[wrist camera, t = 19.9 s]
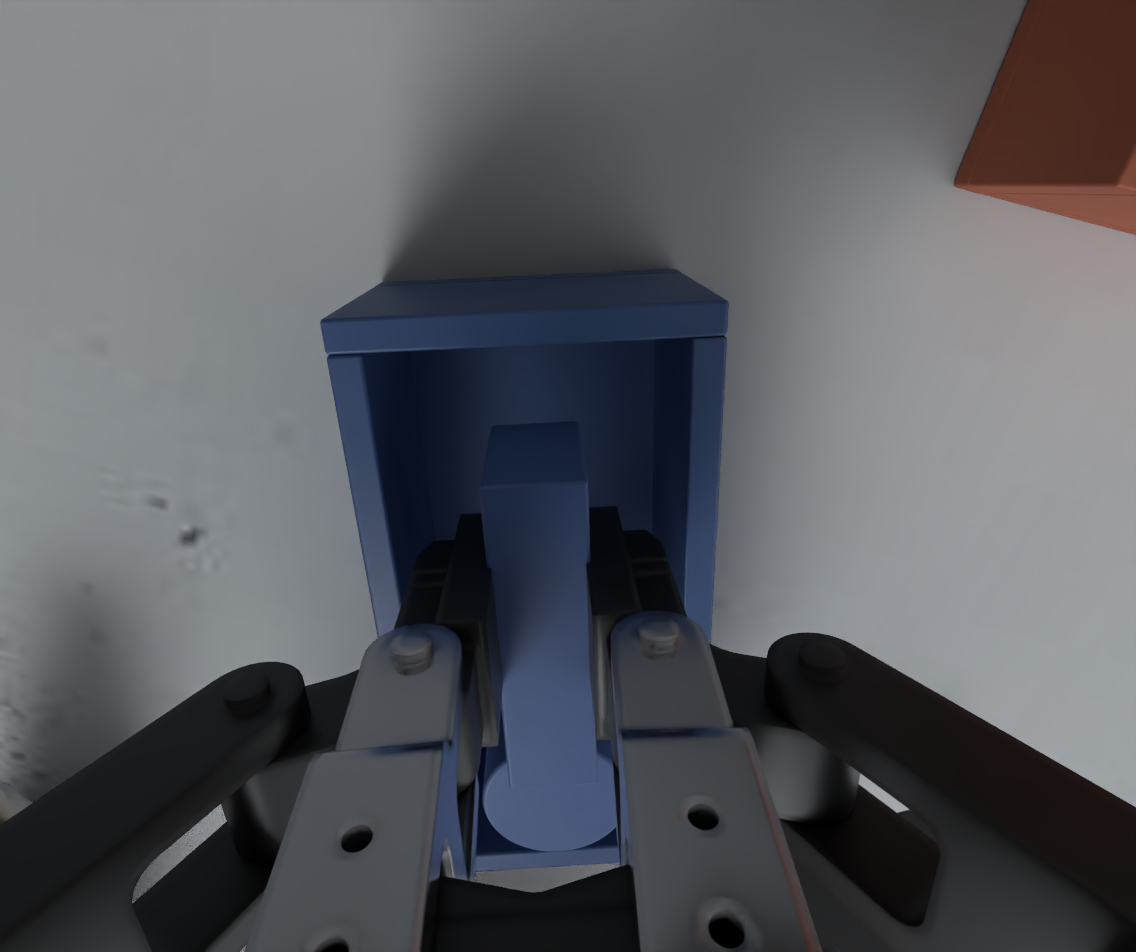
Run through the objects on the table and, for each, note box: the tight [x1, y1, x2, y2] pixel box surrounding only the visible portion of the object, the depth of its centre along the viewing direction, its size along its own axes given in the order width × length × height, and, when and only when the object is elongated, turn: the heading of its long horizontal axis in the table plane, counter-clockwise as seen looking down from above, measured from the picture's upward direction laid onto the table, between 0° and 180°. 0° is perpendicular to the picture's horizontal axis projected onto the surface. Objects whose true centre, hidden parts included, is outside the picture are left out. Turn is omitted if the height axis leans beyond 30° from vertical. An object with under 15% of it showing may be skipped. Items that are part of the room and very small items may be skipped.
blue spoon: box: [479, 421, 616, 851], centre depth 13 cm, size 9×3×3 cm, turn 2°
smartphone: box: [792, 773, 937, 952], centre depth 24 cm, size 7×16×1 cm, turn 17°
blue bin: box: [320, 269, 729, 872], centre depth 16 cm, size 13×7×5 cm, turn 2°
